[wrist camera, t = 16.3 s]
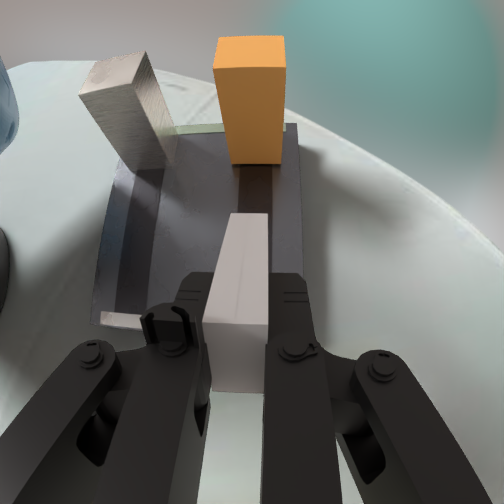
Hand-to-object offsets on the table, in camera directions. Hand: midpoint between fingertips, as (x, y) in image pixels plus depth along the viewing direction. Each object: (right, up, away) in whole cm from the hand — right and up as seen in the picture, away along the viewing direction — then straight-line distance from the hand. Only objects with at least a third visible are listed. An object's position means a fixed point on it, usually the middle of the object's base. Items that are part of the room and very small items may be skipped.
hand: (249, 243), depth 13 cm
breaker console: (-4, +2, +13) cm, 14 cm away
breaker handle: (+1, +8, +12) cm, 14 cm away
